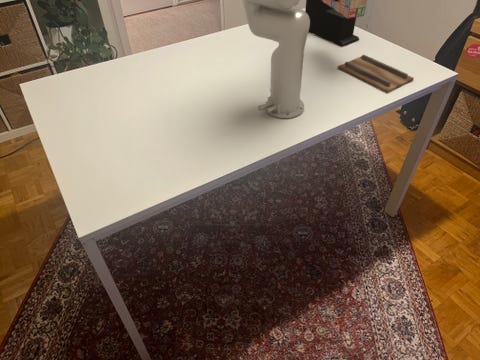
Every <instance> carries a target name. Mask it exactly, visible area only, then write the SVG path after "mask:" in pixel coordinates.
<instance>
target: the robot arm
mask: <svg viewBox="0 0 480 360" xmlns="http://www.w3.org/2000/svg"><path fill="white" fill-rule="evenodd" d="M300 1H301V0H242V4H243V8H244V12H245V16H246V20H247V25H248V29H249V30H250V32H251V33H252V34H253V36H255V37H257V38H262V39H266V40H270V41H273V42H277V44H278V46H277V47H276V48H275V49H274V50H273V52H272V53H271V57H270V90H269V91H270V94H269V95H270V96H268V97H267V101H265V103H262V104H260V105H258V106H257V108H258V111H260V112H263V111H266V113H267V114H269V115H271V116H272V117H274V118H279V119H293V118H295V117H298V116H300V115H301V114H302V113H303V111H304V110H305V104H304V102H303V101H302V100H301V89H302V88H301V87H302V78H303V64H304V54H305V47H306V43H307V39H308V34H309V32H308V31H309V27H310V18H309V16H308V14H307V13H306V12H305V10H304V9H301V8H300V7H296V6H298V4H299V3H300ZM333 1H336V2H337V1H339V0H333Z"/></svg>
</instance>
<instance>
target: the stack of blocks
mask: <svg viewBox="0 0 480 360" xmlns="http://www.w3.org/2000/svg"><path fill="white" fill-rule="evenodd" d="M322 1H323V2H324V3H326V4H327V5H329V6H330V7H332V8H333V9H335V10H336V11H338V12H339V13H340V14H342V15H343V16H345V17H346V18H348V19H349V18H355V17H356V18H360V17H364V16H365V12H366V8H367V7H366V6H367V2H368V0H339V1H337V2H336V1H333V0H322Z"/></svg>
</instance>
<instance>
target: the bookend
mask: <svg viewBox="0 0 480 360" xmlns="http://www.w3.org/2000/svg"><path fill="white" fill-rule="evenodd" d="M304 11H305V12H306V13H307V14H308V16H309V18H310V27H309V31H308V33H310V34H312V35H314V36H317V37H319V38H322V39H323V40H325V41H328V42H330V43H332V44H334V45H336V46H340V47H341V48H343V47H346V46H348V45H351V44H354V43H356V42H359V41H360V38H359V36H357V35H355V34H354V31H355V27H356V20H357V17H355V18H349V19H348V18H346V17H345V16H343V15H342V14H340V13H339V12H338V11H336V10H335V9H333V8H332V7H330V6H329V5H327V4H326V3H324V2H323V1H322V0H306V1H305V10H304Z"/></svg>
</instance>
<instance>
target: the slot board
mask: <svg viewBox="0 0 480 360" xmlns="http://www.w3.org/2000/svg"><path fill="white" fill-rule="evenodd" d="M337 70H339V71H341V72H344V73H346V74H348V75H349V76H352V77H353V78H356V79H357V80H360V81H361V82H363V83H366V85H367V84H368V85H369V86H372V87H373V88H376V89H377V90H379V91H381V92H383V93H385V94H388V93H391V92H393V91H395V90H397V89H400V88H401V87H403V86H405V85H408V84H409V83H411V82H413V81H414V79H415V78H414V77H412V76H410V75H409V74H408V73H406V72H404V71H402V70H400V69H398V68H395V67H393V66H391V65H388V64H386V63H385V62H384V63H383V62H382V61H379V60H377V59H374V58H372V57H369V56H368V55H367V54H361V56H359V57H356V58H355V59H352V60H349V61H345V62H344V63H342V64H340V65H339V64H338V66H337Z"/></svg>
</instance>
